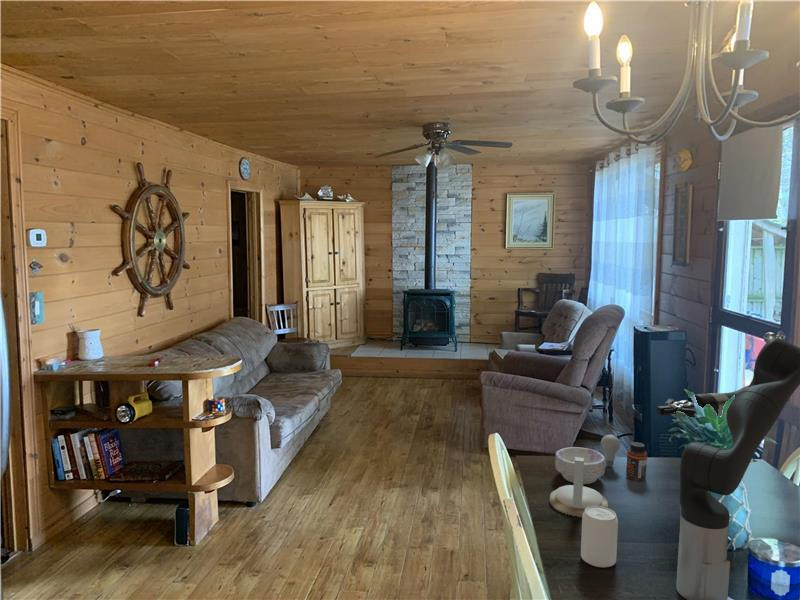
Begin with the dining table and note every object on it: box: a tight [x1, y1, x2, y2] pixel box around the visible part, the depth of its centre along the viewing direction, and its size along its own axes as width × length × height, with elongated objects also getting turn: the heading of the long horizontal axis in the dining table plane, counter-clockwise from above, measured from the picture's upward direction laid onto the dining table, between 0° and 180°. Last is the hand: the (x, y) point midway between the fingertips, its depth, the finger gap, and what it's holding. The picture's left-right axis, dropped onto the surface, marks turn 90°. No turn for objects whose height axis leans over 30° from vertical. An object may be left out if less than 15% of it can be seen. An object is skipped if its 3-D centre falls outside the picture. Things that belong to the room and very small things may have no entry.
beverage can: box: [580, 506, 619, 568], centre depth 139 cm, size 8×8×12 cm
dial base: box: [549, 489, 609, 518], centre depth 169 cm, size 16×16×2 cm
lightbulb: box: [600, 434, 621, 468], centre depth 195 cm, size 6×6×11 cm
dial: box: [555, 457, 603, 509], centre depth 167 cm, size 14×13×14 cm
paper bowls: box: [554, 446, 606, 485], centre depth 186 cm, size 15×15×8 cm
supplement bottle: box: [625, 441, 648, 482], centre depth 186 cm, size 6×6×11 cm
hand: (658, 411), depth 162 cm, fingers closed
